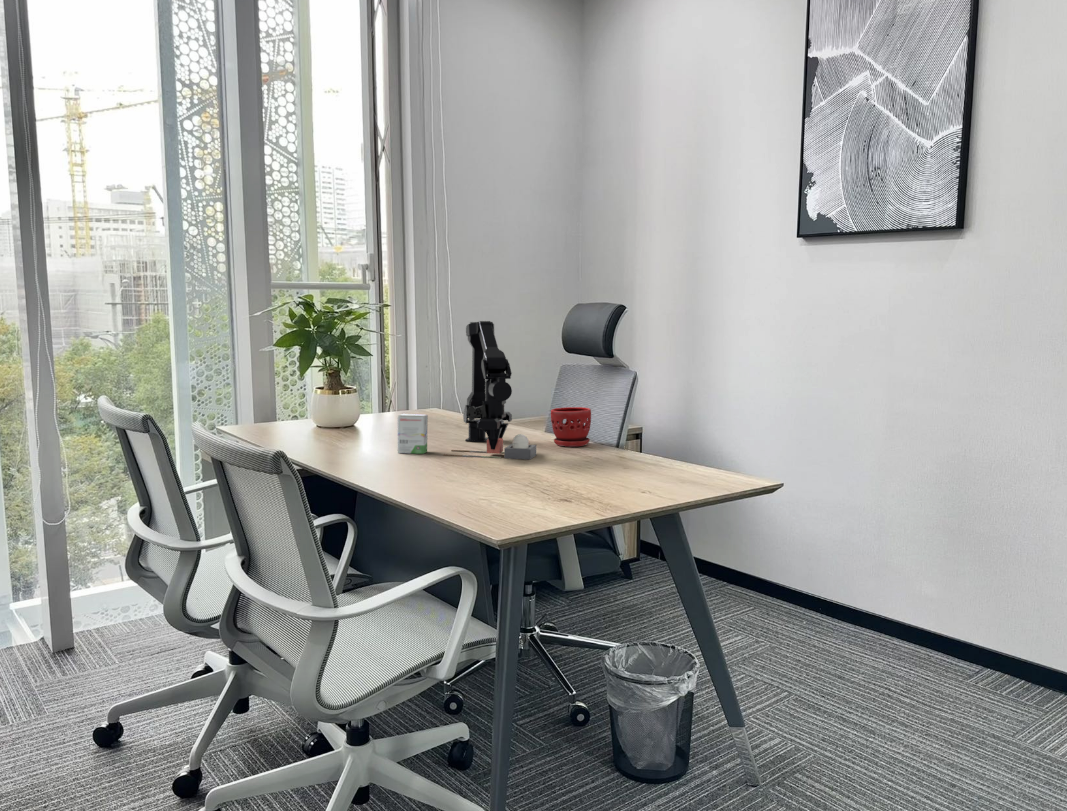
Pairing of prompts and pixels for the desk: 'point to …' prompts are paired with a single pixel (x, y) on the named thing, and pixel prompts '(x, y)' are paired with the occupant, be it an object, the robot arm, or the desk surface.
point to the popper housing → (519, 452)
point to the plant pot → (571, 426)
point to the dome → (520, 441)
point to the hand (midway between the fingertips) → (494, 448)
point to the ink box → (412, 433)
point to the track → (472, 455)
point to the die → (498, 447)
